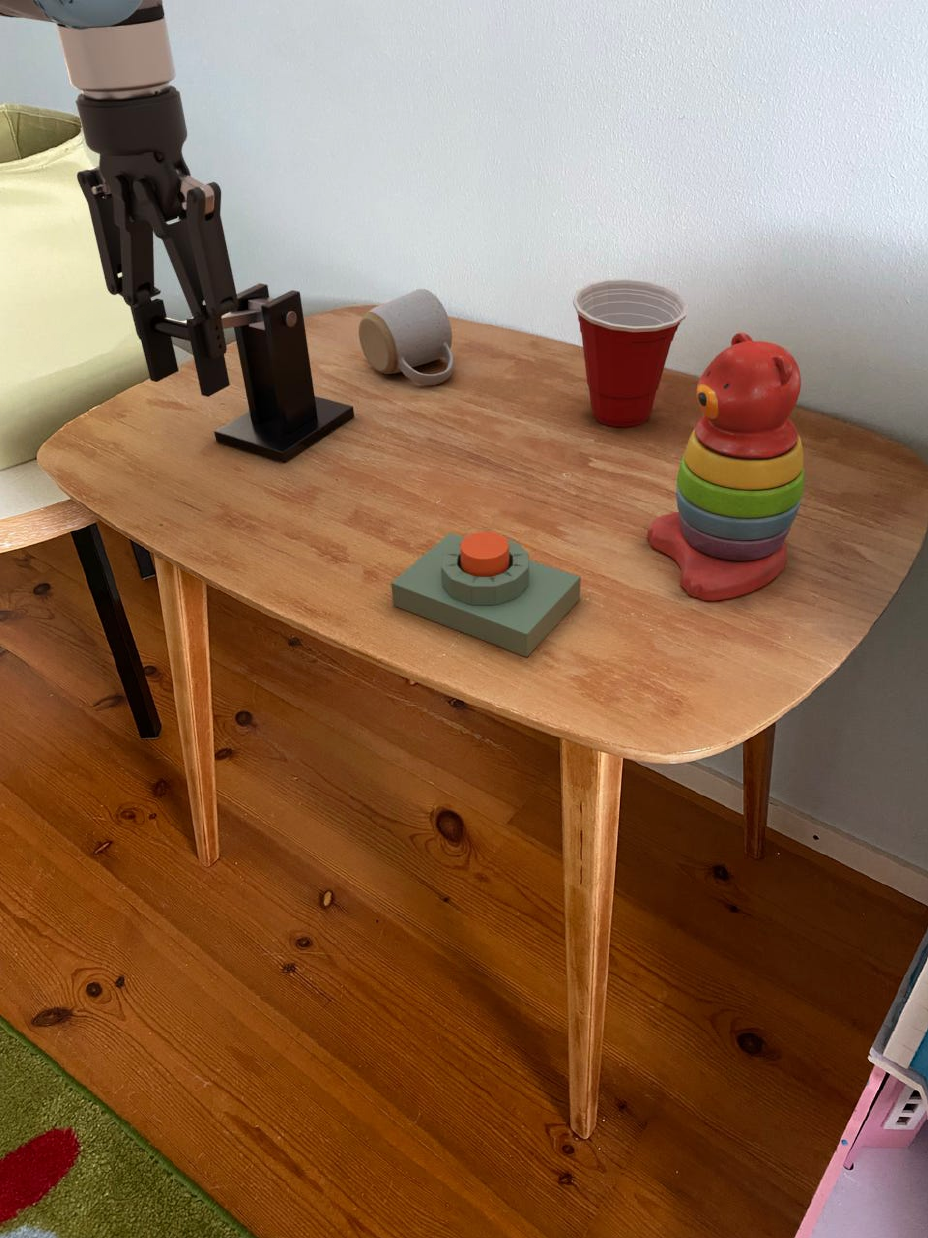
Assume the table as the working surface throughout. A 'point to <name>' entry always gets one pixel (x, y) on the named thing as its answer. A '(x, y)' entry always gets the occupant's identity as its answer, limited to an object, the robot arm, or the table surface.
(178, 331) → the lever
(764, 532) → the stacking bear
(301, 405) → the bracket
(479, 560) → the button
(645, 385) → the plastic cup
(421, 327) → the ceramic mug
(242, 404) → the table surface
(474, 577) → the control block
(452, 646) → the table surface
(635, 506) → the table surface
